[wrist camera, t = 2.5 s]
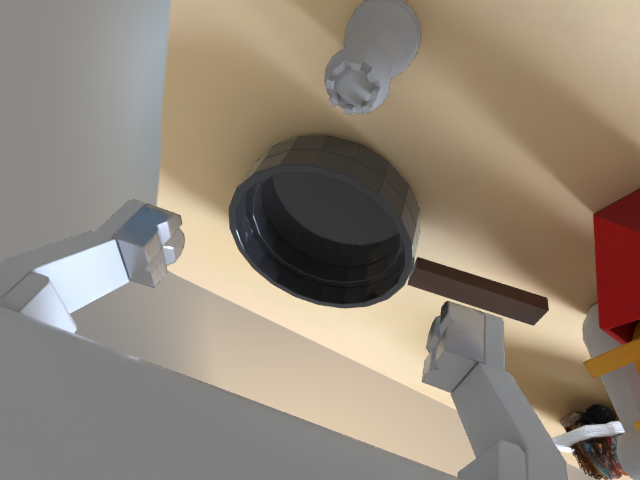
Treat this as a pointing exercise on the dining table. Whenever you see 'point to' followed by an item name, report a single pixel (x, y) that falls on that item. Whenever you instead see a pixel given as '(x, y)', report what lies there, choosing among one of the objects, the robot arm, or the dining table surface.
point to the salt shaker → (618, 393)
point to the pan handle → (478, 291)
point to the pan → (327, 222)
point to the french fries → (618, 284)
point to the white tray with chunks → (593, 441)
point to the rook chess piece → (372, 55)
